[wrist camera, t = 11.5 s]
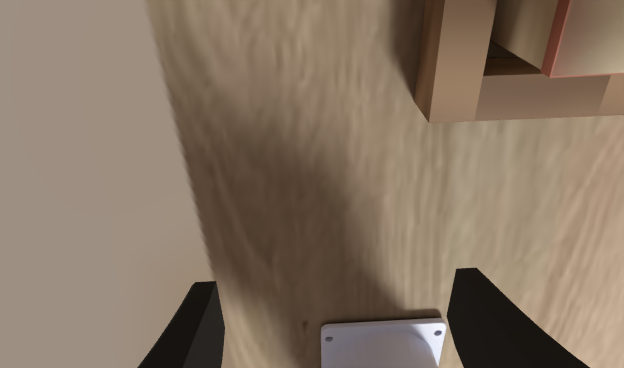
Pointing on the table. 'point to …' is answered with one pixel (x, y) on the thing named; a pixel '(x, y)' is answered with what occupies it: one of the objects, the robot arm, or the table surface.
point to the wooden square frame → (495, 74)
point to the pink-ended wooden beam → (563, 35)
